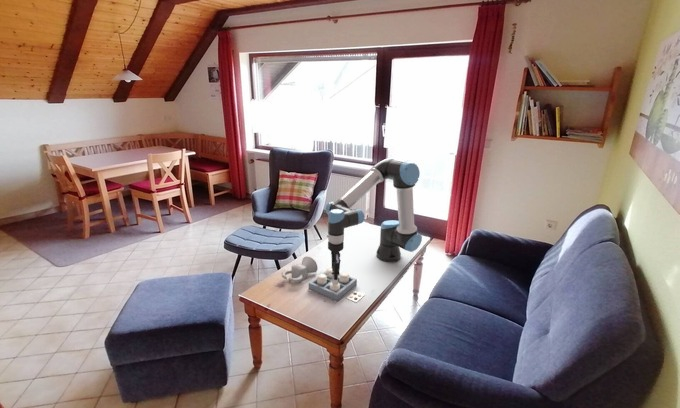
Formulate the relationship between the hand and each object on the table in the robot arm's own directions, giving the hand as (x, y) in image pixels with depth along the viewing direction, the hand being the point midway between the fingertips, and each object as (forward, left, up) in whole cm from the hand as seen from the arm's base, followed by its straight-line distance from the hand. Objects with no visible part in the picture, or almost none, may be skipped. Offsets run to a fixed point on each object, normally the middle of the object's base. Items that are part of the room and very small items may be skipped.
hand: (335, 283), depth 171 cm
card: (-4, +10, -6) cm, 12 cm away
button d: (-8, -8, -3) cm, 12 cm away
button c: (-8, 0, -3) cm, 9 cm away
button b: (0, -8, -3) cm, 9 cm away
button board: (-4, -4, -6) cm, 8 cm away
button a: (0, 0, -5) cm, 5 cm away
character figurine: (-2, -25, -6) cm, 26 cm away
